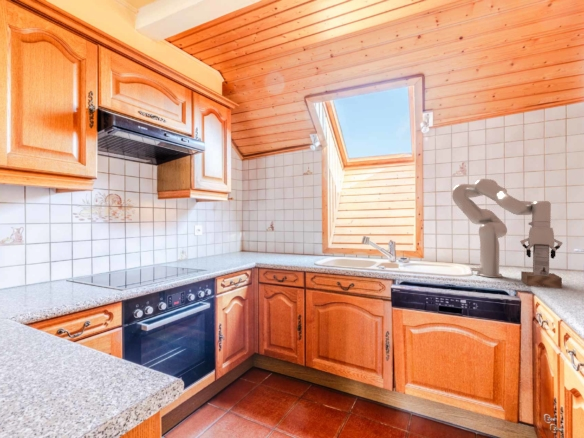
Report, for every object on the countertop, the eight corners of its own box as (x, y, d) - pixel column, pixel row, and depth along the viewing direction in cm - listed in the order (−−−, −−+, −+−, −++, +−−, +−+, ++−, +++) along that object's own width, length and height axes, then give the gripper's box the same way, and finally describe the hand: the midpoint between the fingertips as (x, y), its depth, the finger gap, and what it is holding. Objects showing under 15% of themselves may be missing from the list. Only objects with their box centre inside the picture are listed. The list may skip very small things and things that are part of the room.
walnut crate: (526, 285, 158) (526, 275, 158) (521, 280, 169) (521, 271, 169) (561, 288, 151) (561, 278, 151) (553, 282, 163) (553, 273, 163)
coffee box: (532, 272, 166) (532, 242, 166) (547, 273, 162) (548, 243, 162) (533, 275, 158) (533, 244, 158) (549, 276, 155) (550, 244, 154)
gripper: (522, 224, 160) (521, 257, 161) (565, 225, 152) (564, 259, 153) (519, 224, 167) (518, 255, 167) (560, 224, 159) (559, 257, 160)
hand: (540, 257), depth 160 cm, fingers open, 9 cm apart
